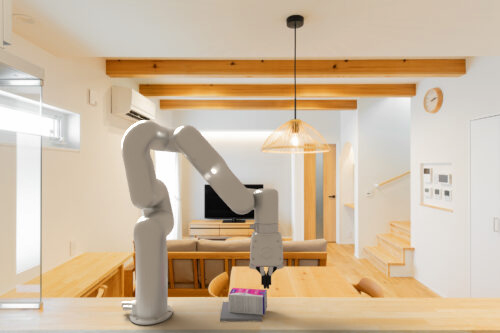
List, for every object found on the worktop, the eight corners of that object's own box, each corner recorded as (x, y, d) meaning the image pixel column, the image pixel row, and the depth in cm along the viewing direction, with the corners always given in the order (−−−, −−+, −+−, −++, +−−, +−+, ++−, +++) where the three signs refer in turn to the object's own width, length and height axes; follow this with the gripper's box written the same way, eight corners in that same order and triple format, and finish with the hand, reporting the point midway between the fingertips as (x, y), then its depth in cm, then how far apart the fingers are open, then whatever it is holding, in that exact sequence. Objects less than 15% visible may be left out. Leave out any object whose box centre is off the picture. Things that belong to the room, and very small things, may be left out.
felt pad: (220, 321, 92) (220, 318, 92) (222, 304, 104) (222, 301, 104) (262, 321, 92) (262, 318, 93) (259, 303, 104) (260, 301, 104)
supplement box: (264, 296, 94) (227, 294, 96) (265, 315, 94) (228, 313, 96) (266, 288, 100) (232, 287, 102) (267, 307, 100) (232, 305, 102)
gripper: (242, 230, 93) (242, 292, 93) (292, 230, 93) (291, 291, 93) (242, 226, 101) (242, 283, 100) (288, 226, 101) (288, 282, 101)
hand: (266, 287), depth 97 cm, fingers closed
